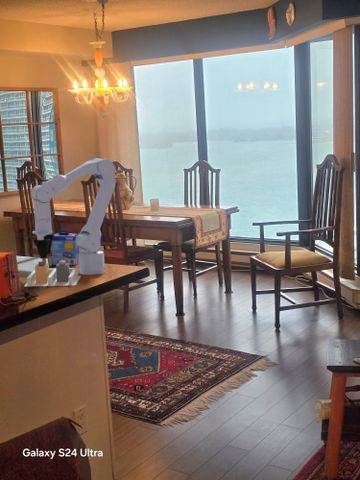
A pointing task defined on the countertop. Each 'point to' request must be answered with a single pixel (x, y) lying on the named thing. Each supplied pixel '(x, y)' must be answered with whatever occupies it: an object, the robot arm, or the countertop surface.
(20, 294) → the countertop surface
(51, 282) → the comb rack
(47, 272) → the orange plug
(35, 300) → the countertop surface
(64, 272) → the charcoal plug
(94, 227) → the robot arm
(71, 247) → the ink cartridge box
